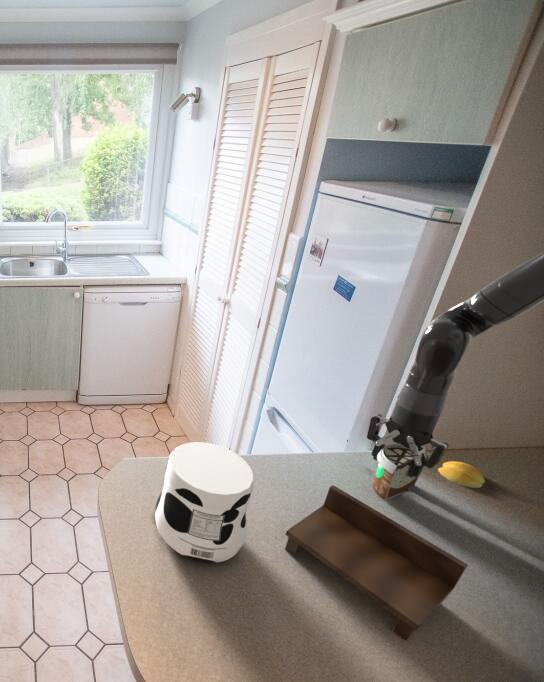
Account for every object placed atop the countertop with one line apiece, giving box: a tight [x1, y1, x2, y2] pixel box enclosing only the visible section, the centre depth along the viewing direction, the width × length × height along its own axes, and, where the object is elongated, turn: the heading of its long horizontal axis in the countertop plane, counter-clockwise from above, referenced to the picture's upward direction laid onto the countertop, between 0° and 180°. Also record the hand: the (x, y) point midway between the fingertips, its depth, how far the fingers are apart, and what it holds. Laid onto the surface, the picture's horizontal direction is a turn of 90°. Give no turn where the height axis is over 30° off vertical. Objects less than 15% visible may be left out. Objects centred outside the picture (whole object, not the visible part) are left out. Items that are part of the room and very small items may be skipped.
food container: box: [372, 443, 431, 501], centre depth 104 cm, size 12×6×10 cm, turn 111°
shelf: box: [284, 484, 469, 642], centre depth 83 cm, size 22×14×10 cm, turn 31°
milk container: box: [154, 441, 254, 564], centre depth 90 cm, size 17×17×18 cm
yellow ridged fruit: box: [437, 460, 486, 489], centre depth 107 cm, size 8×9×4 cm
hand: (393, 466), depth 103 cm, fingers closed on food container, 6 cm apart
